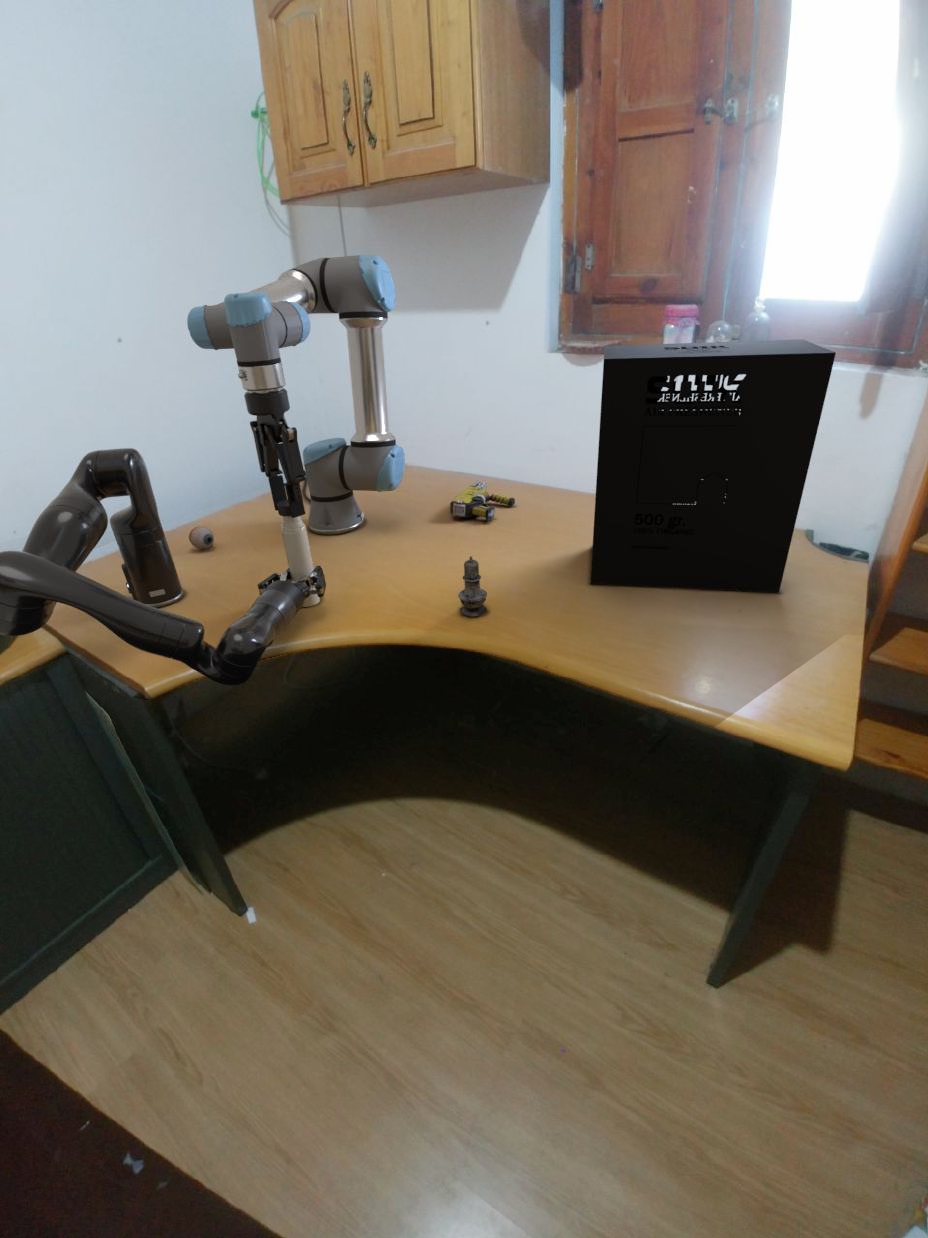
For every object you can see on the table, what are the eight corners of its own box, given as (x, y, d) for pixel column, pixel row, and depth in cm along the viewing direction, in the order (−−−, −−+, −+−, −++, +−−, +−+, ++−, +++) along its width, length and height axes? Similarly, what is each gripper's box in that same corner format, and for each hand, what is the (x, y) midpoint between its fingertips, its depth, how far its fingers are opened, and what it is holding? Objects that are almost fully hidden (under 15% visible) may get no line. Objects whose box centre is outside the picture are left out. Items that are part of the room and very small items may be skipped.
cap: (305, 512, 120) (303, 502, 119) (285, 518, 117) (283, 507, 116) (294, 507, 123) (292, 497, 122) (274, 513, 120) (272, 503, 119)
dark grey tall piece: (485, 617, 120) (483, 562, 114) (456, 616, 121) (452, 561, 115) (490, 603, 125) (488, 550, 119) (462, 602, 126) (459, 549, 120)
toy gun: (523, 485, 181) (476, 478, 185) (501, 509, 161) (448, 500, 165) (521, 500, 184) (475, 493, 187) (499, 525, 163) (447, 517, 167)
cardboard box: (758, 552, 140) (802, 339, 117) (778, 592, 123) (835, 352, 100) (592, 546, 147) (604, 345, 125) (590, 583, 130) (603, 358, 108)
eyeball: (203, 554, 156) (196, 532, 153) (187, 550, 159) (181, 528, 156) (222, 546, 160) (216, 524, 157) (206, 542, 163) (200, 521, 160)
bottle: (314, 594, 133) (296, 500, 122) (323, 602, 130) (305, 506, 119) (293, 600, 131) (272, 505, 120) (301, 609, 127) (281, 512, 116)
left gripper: (245, 623, 118) (279, 584, 132) (315, 625, 116) (342, 585, 130) (236, 589, 114) (272, 553, 128) (308, 590, 112) (336, 553, 126)
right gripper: (222, 388, 112) (250, 507, 124) (271, 397, 100) (297, 528, 112) (259, 382, 117) (283, 497, 128) (310, 390, 105) (331, 517, 116)
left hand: (307, 569), depth 129 cm, fingers closed on bottle, 5 cm apart
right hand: (290, 511), depth 120 cm, fingers open, 6 cm apart
